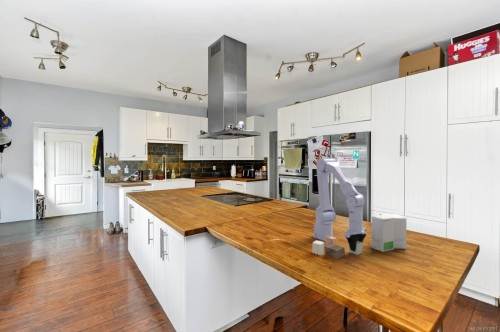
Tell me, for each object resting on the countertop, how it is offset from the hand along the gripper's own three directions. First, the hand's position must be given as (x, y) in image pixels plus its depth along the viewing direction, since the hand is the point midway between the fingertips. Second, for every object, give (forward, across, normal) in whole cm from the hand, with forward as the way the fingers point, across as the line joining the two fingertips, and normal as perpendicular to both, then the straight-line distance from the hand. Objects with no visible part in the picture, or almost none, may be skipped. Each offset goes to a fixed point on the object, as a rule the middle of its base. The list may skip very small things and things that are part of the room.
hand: (355, 249), depth 107 cm
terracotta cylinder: (+2, -4, +11) cm, 12 cm away
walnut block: (+2, -10, +4) cm, 11 cm away
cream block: (+2, -14, +10) cm, 17 cm away
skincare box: (+2, +15, -5) cm, 16 cm away
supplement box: (+2, +23, -6) cm, 24 cm away
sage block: (+1, 0, 0) cm, 1 cm away
